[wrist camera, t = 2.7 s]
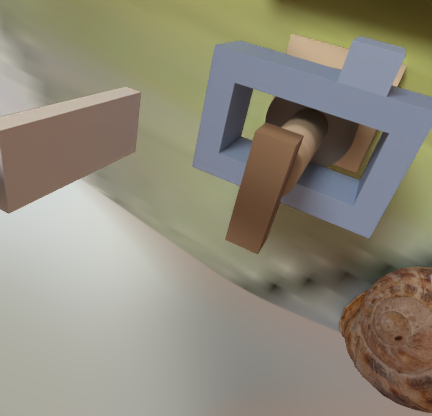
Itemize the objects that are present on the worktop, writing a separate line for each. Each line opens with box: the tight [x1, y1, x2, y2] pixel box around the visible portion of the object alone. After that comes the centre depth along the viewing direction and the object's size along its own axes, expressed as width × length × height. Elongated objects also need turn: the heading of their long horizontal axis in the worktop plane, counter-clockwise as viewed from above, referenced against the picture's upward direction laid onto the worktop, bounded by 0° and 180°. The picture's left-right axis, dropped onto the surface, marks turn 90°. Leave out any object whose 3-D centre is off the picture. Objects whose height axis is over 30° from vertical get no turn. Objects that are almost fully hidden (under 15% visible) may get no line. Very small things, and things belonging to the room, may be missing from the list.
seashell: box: [339, 267, 432, 413], centre depth 26 cm, size 10×9×10 cm
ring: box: [192, 36, 432, 238], centre depth 17 cm, size 10×8×3 cm
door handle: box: [225, 34, 407, 254], centre depth 18 cm, size 7×7×14 cm
